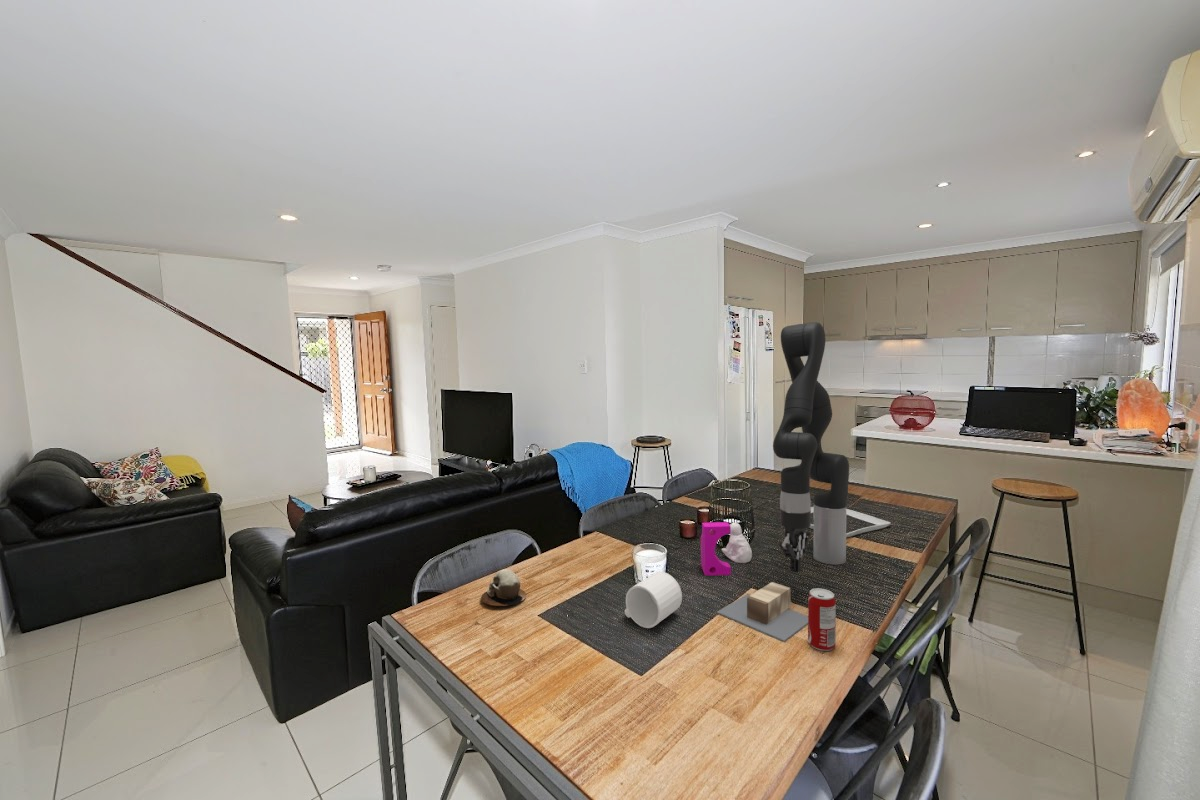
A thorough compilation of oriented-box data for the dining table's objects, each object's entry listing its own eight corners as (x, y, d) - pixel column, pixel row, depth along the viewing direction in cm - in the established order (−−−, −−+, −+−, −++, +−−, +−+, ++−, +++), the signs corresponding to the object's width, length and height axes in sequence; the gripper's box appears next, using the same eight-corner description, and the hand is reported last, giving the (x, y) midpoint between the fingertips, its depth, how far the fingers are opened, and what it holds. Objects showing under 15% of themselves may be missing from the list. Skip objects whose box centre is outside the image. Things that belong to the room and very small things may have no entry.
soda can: (812, 635, 114) (812, 584, 113) (838, 643, 110) (838, 590, 109) (804, 646, 109) (804, 593, 108) (831, 655, 106) (831, 600, 105)
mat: (747, 595, 134) (747, 593, 134) (813, 619, 120) (813, 618, 120) (716, 613, 125) (716, 611, 125) (784, 642, 111) (784, 640, 111)
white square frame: (779, 522, 193) (779, 512, 193) (829, 512, 205) (829, 502, 204) (839, 545, 169) (839, 533, 168) (892, 531, 180) (892, 521, 180)
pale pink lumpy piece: (745, 567, 151) (745, 529, 151) (720, 560, 158) (720, 523, 157) (755, 561, 156) (755, 524, 155) (731, 554, 162) (731, 518, 161)
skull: (468, 597, 134) (487, 561, 140) (493, 613, 140) (510, 579, 145) (496, 605, 126) (515, 568, 132) (521, 622, 132) (538, 586, 138)
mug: (669, 565, 125) (645, 579, 117) (689, 603, 122) (667, 620, 114) (636, 582, 132) (612, 597, 125) (655, 619, 129) (631, 636, 122)
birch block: (772, 581, 129) (747, 597, 121) (790, 587, 126) (765, 604, 118) (772, 600, 130) (747, 617, 122) (790, 607, 126) (765, 624, 118)
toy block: (701, 568, 152) (725, 567, 152) (705, 577, 146) (730, 576, 146) (700, 520, 151) (725, 519, 151) (704, 526, 145) (730, 526, 144)
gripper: (794, 499, 138) (794, 560, 140) (768, 510, 129) (769, 574, 131) (820, 504, 133) (821, 567, 134) (796, 516, 124) (796, 583, 125)
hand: (795, 571), depth 132 cm, fingers closed
